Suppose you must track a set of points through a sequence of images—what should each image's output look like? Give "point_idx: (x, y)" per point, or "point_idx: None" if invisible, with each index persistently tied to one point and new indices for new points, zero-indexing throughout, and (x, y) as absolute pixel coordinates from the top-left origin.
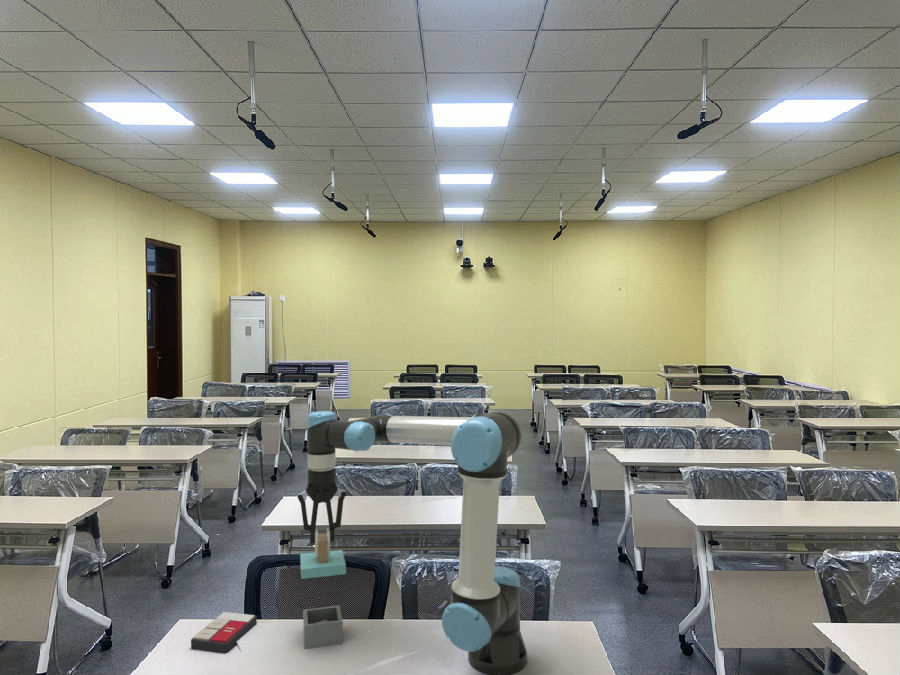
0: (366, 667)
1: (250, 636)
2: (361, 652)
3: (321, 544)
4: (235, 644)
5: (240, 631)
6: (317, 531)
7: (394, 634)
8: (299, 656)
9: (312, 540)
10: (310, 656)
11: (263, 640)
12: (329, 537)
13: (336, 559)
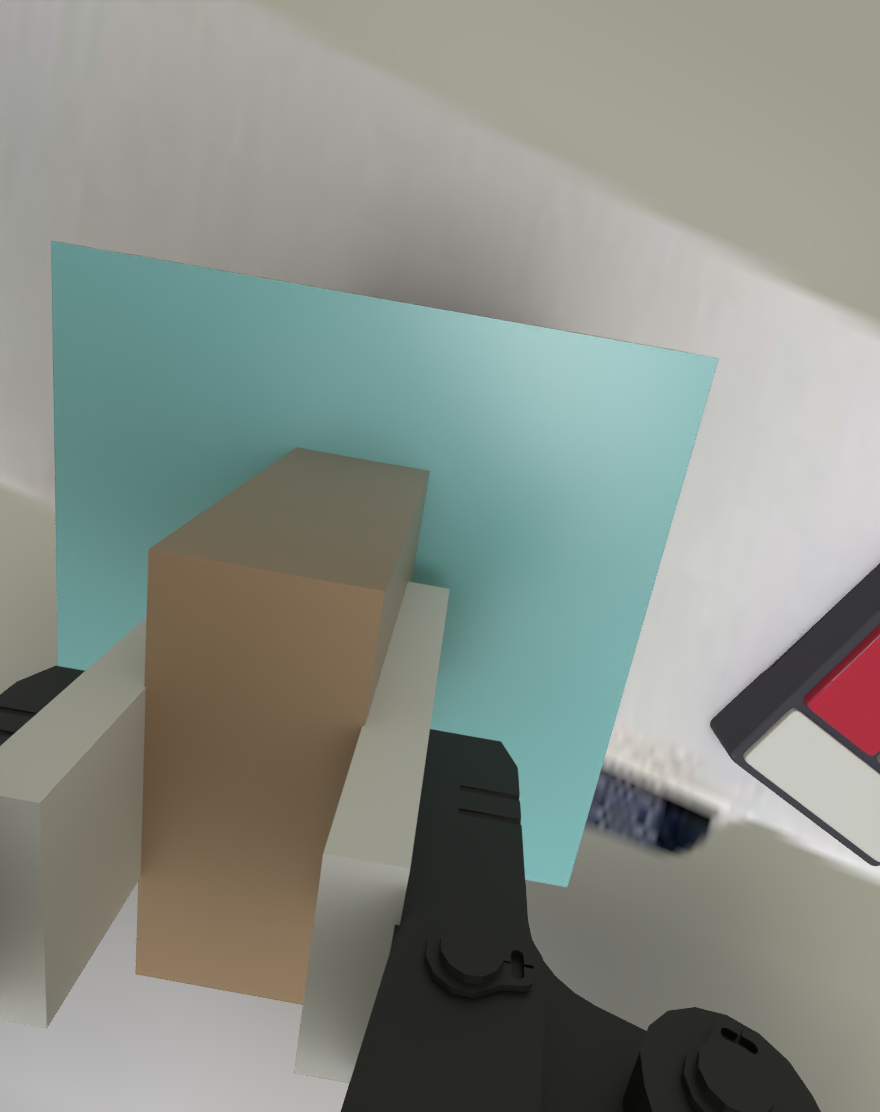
0: (264, 10)
1: (764, 645)
2: (258, 206)
3: (322, 546)
4: (866, 582)
5: (850, 638)
6: (326, 906)
7: (47, 329)
8: (587, 320)
9: (480, 773)
10: (532, 292)
11: (716, 576)
12: (80, 687)
13: (162, 514)
